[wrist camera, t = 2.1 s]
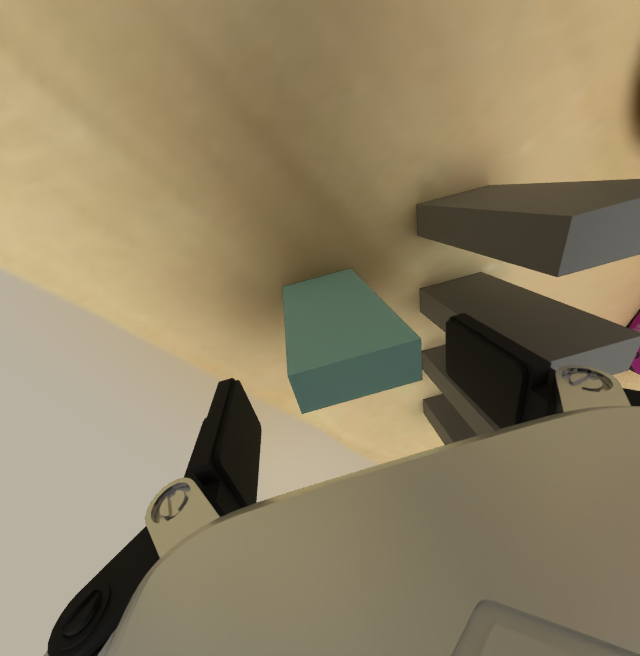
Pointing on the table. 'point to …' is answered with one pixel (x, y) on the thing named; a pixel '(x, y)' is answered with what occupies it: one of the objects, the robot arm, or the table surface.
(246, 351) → the table surface
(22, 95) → the table surface
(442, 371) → the domino
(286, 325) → the domino
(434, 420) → the domino
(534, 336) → the domino
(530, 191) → the domino
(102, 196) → the table surface
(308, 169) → the table surface
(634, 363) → the candy bar box
